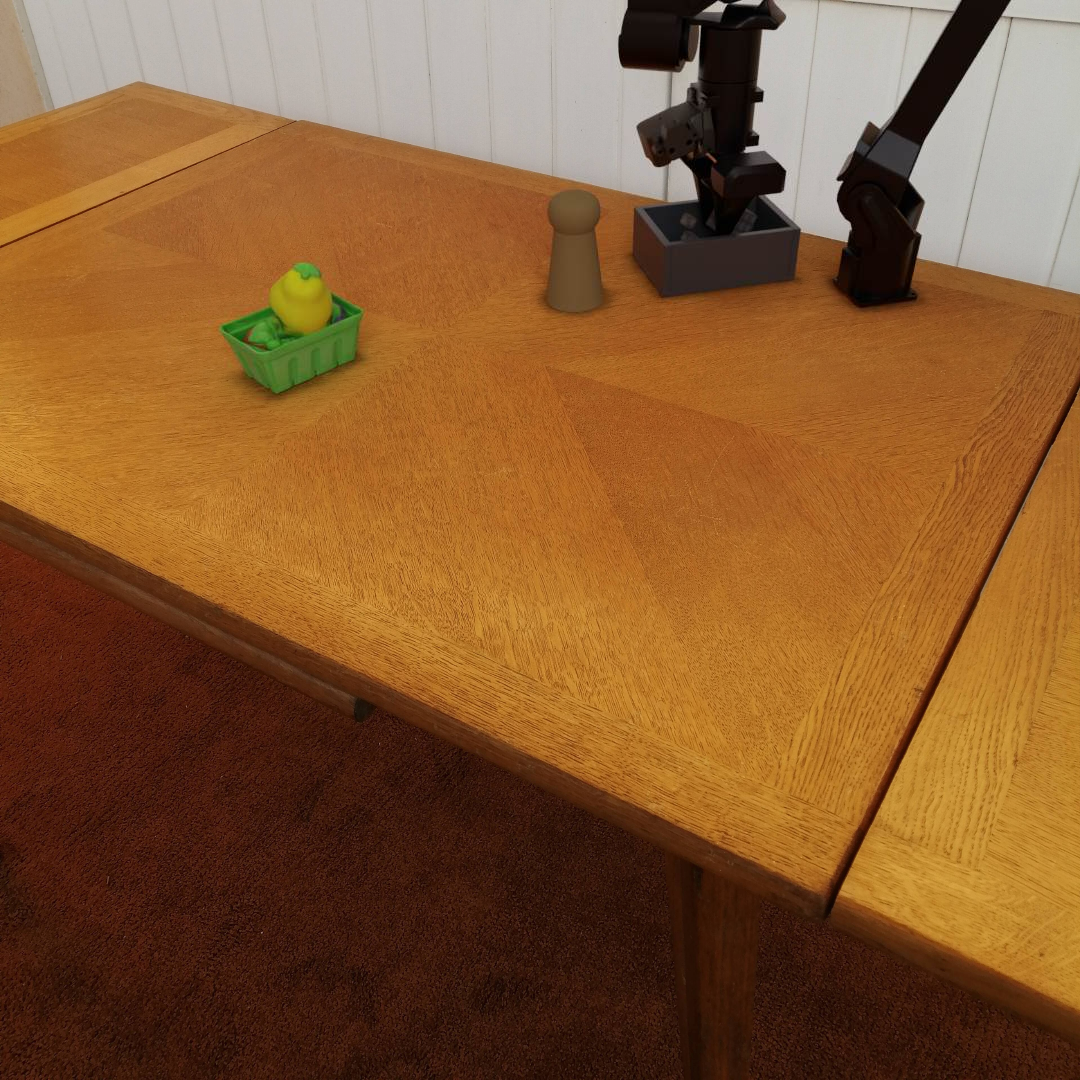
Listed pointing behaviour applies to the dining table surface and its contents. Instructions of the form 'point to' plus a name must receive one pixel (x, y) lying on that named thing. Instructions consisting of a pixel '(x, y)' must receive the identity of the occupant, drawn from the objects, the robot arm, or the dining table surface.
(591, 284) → the brown pepper mill
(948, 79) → the robot arm
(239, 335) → the fruit basket
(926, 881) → the dining table surface
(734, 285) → the bin
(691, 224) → the building blocks
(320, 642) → the dining table surface
